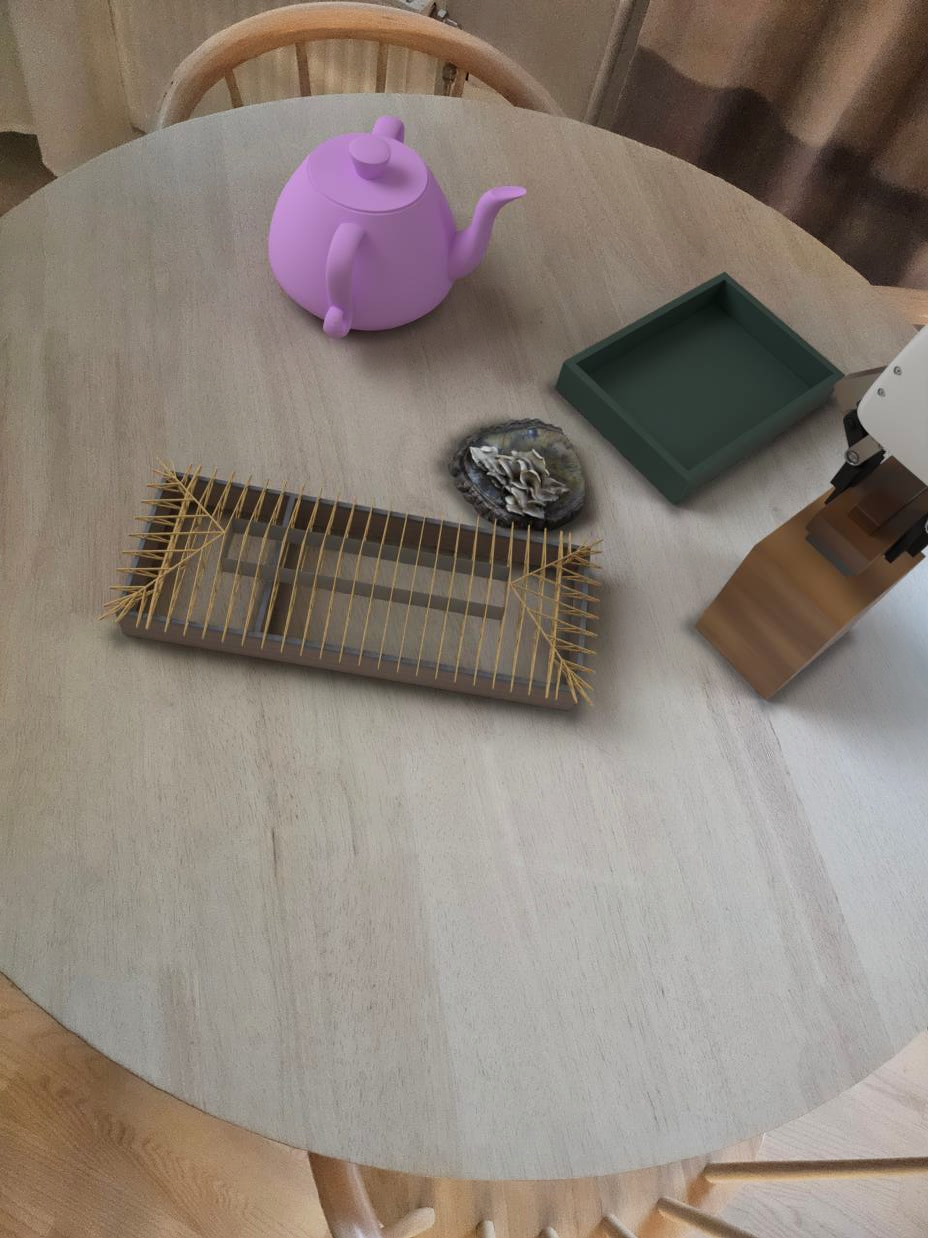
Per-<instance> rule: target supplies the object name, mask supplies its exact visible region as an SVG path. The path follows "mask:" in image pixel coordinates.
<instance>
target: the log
mask: <svg viewBox="0 0 928 1238" xmlns="http://www.w3.org/2000/svg"><path fill="white" fill-rule="evenodd" d="M451 459H452V460H453V461H452V462H451V463H448V464H447V468H448V472H449V474H450V475H451V476H453V477H454V481H453V486H454V487H455V489H457V490H458V491H460V492H462V496H463V499H464V500H465V501H466V502H468V503H470V504H471V505H472V506H473V508H474V509H475V511H476V512H477V513H478V515H479V516H480V517H481V518H483V519H485V520H486V521H488V522H490V523H491V524H493V525H494V524H495V519H496V526H499V527H501V528H504V529H505V528H506V529H512V522H513V529H515V530H516V529H517V530H528V526H529V525H530V531H536V532H541V531H543V532H545V528H546V532H549V531H554V530H557V529H560V528H561V527H563V526H565V525H567V524H569V523H571V522H573V521H575V520H577V518H579V517H580V515H582V513H583V511H584V508H585V500H586V495H587V488H586V480H585V476H584V474H583V473H584V472H583V469H582V466H581V462H580V460H579V457H578V454H577V452H576V451H575V448H574V446H573V444H572V443H571V442H570V440H569V438H568V437H567V435H565V434H564V432H563V429H562V427H561V426H555V425H554V424H553V423H546V422H544V421H542V420H541V419H540V418H537V417H535V418H534V419H531V418H530V417H526V418H524V419H514V418H513V419H509V420H508V421H507V422H503V423H497V424H496V423H495V424H494V425H491V426H490V427H487V426H481V427H479V428H478V429H477V430H476V431H475V432H474V434H473V435H470V434H469V435H467V436H465V437H464V438H463V439H462V440H461V441H460V442H459V443H458V449H457V450H456V451H455V452H454V453H453V454H452V457H451Z"/></svg>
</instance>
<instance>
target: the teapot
mask: <svg viewBox="0 0 928 1238" xmlns="http://www.w3.org/2000/svg"><path fill="white" fill-rule="evenodd" d="M404 141H405V124H404V123H403V121H402V120H401V119H399V118H398V117H395V116H393V115H382V116H380V117H379V118H378V119H377V120H376V122H375V123H374V126H373V129H372V131H371V132H350V133H344V134H340V135H336V136H334V137H331V138H329V139H327V140H325V141H322V143H320V144H318V145H317V147H315V148H314V149H313V150H312V151H311V152H310V153H309V154H308V155H307V156H306V158H304V160H303V161H302V162H301V163H300V165H299V166H298V167H297V169H295V171H294V173H293V174H292V175H291V177H290V178H289V180H287V182H286V184H285V186H284V188H283V189H282V191H281V192H280V195H279V197H278V200H277V201H276V205H275V208H274V211H273V214H272V218H271V222H270V226H269V232H268V240H267V242H268V249H267V250H268V260H269V264H270V268H271V270H272V273H273V274H274V276H275V279H276V280H277V282H278V284H279V285H280V287H281V288H282V290H283V291H284V292H285V293H286V294H287V295H288V296H289V297H290V298H291V299H292V300H294V302H295V303H296V304H298V305H299V306H300V307H301V308H303V309H305V310H306V311H308V312H309V313H310V314H312V315H314V316H316V317H317V318H319V319H321V320H323V325H322V326H323V327H322V329H323V332H324V333H325V335H327V336H328V337H330V338H332V339H342V338H344V337H345V336H347V335H348V333H350V330H358V331H366V332H367V331H368V332H369V331H383V330H384V331H385V330H391V329H395V328H398V327H401V326H404V325H407V324H409V323H412V322H414V321H416V320H418V319H420V318H422V317H424V316H425V315H427V314H429V313H430V312H432V311H433V310H434V309H435V308H436V307H438V306H439V305H440V304H441V302H442V301H443V300H444V299H445V298H446V297H447V295H448V294H449V292H450V290H451V289H452V287H453V285H454V283H455V281H456V280H458V279H461V278H464V277H466V276H468V275H469V274H470V273H472V272H473V271H474V270H475V269H476V268H477V267H478V266H479V264H480V263H481V262H482V260H483V259H484V256H485V254H486V252H487V250H488V247H489V244H490V240H491V234H492V231H493V227H494V223H495V221H496V218H497V216H498V214H499V212H500V210H501V209H502V208H504V206H506V204H510V203H511V202H513V201H515V200H517V199H520V198H522V197H523V196H526V194H527V190H526V189H525V188H524V187H521V186H516V185H503V186H497V187H493V188H491V189H489V190H488V191H486V192H485V193H484V194H482V196H481V197H480V199H479V200H478V202H477V204H476V207H475V209H474V213H473V217H472V220H471V223H470V225H469V226H468V227H466V228H465V229H461V230H458V231H457V227H456V223H455V218H454V216H453V211H452V210H451V207H450V203H449V202H448V200H447V198H446V196H445V193H444V192H443V190H442V187H441V185H440V184H439V182H438V181H437V179H436V177H435V175H434V174H433V172H432V171H431V169H430V167H429V166H428V165H427V163H426V162H425V161H424V160H423V158H422V157H421V156H420V155H419V154H418V153H417V152H416V151H415V150H414V149H413V148H411V147H410V146H408V145H406V144H405V143H404Z"/></svg>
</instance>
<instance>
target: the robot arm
mask: <svg viewBox="0 0 928 1238" xmlns="http://www.w3.org/2000/svg"><path fill="white" fill-rule="evenodd" d="M833 393H834V394H835V397H836V399H837V402H838V405H839V408H840V411H841V412H842V413H843V414H844V417H843V419H842V424H843V428H844V433H845V437H846V442H847V443H846V444H847V447H848V448H847V449H846V450H845V451H844V453H843V455H844V457H843V458H844V460H845V462H844V463H843V464H842V466H841V467H840V468H839V469H838V471H837V472H836V473H835V475H834V476H833V477H832V479H830V482H829V483H830V484H831V485H832V487H833V486H834V487H835V490H834V491H833V492H832V493H831V495H830V496H829V497H828V498H827V500H826V501H825V502H824V504H825V505H827V504H828V503H830V502H831V501H832V500H834V499H835V498H836V497H838V496H839V495H840V494H842V493H843V492H844V491H845V490H847V489H848V488H849V487H851V486H853V485H854V484H855V483H857V482H858V481H859V480H861V479H862V478H863V477H864V476H866V475H867V474H868V473H870V472H871V471H872V470H874V469H875V468H876V467H878V466H879V465H880V464H881V463H882V462H883V461H885V458H886V456H885V455H886V453H887V452H888V453H889V454H890V456H891V455H893V456H894V457H895V458H896V459H897V460H898V461H899V462H901V463H902V464H903V465H904V466H905V467H906V468H907V469H909V470H910V471H911V472H912V473H913V474H914V475H916V476H917V477H918V478H919V479H920V480H921V481H922V482H924V483H925V484H926V485H927V486H928V322H927V323H926V324H925V325H924V326H923V327H922V328H921V329H920V330H919V331H918V332H917V333H916V334H915V335H914V336H913V338H912V339H911V340H909V342H908V343H907V344H906V345H905V346H904V347H903V349H902V350H901V351H900V352H899V353H898V354H897V355H896V356H895V358H894V359H893V360H892V361H891V362H890V363H889V364H888V365H883V366H879V367H874V368H869V369H865V370H860V371H856V372H852V373H848V374H847V375H846V374H845V377H843V378H842V379H841V380H839V381H838V382H836V383H835V384H834V392H833ZM927 547H928V513H926V514H925V515H924V516H923V517H922V518H920V519H919V520H918V521H917V522H916V523H914V524H913V525H912V526H911V527H910V528H909V529H908V530H907V531H906V532H905V533H904V535H903V536H902V537H901V538H900V539H899V540H898V541H897V542H896V543H895V545H894V546H893V547H892V548H891V549H890V550H888V551H887V552H886V553H885V554H884V556H886V557H885V559H886V560H887V561H888V562H889V563H890V564H891V563H892V562H893V561H895V560H896V559H897V558H898V557H899V556H901V555H902V554H903V553H904V552H905V551H906V552H907V553H908V554H910V555H911V556H912V557H913V558H914V557H915V556H916V555H918V554H919V553H920V552H923V551H924V550H925V549H926V548H927Z"/></svg>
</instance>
